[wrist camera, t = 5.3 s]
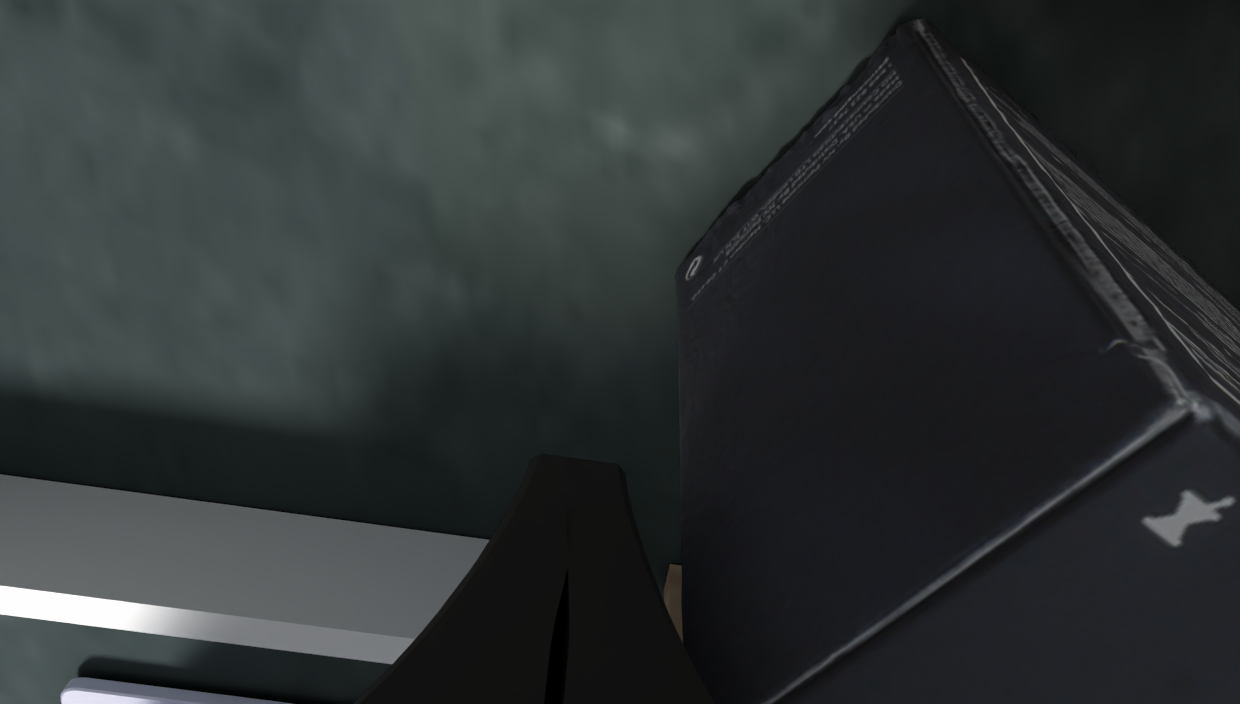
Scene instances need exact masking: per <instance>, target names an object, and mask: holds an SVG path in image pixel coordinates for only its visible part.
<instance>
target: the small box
mask: <svg viewBox="0 0 1240 704" xmlns="http://www.w3.org/2000/svg"><path fill="white" fill-rule="evenodd" d="M675 278H676V290H677V322H678V331H677V340H678V372H679V375H678V385H679V428H680V442H679V444H680V475H681V568H682V593H681V606H682V634H683V645H684V647H685V649H686V651H687V653H688V655H689V657H690V659H691V661H692V663H693V665H694V667H695V669H696V671H697V673H698V674H699V676H700V678H701V680H702V682H703V684H704V685H705V687H706V689H707V691H708V692H709V694H710V696H711V698H712V699H713V701H714V703H715V704H1240V309H1239V308H1238V307H1237V306H1236V305H1235V304H1233V303H1232V302H1231V301H1230V299H1229V298H1228V297H1226V296H1225V295H1224V294H1223V293H1221V292H1220V291H1219V290H1218V289H1217V288H1216V287H1215V286H1214V285H1213V284H1212V283H1211V282H1210V281H1209V280H1208V279H1207V278H1206V277H1205V276H1204V275H1203V274H1202V273H1201V272H1199V271H1198V270H1197V267H1196V265H1195V264H1194V263H1193V262H1192V261H1191V260H1188V259H1187V258H1185V257H1184V256H1182V255H1181V254H1180V253H1179V252H1178V251H1177V250H1176V249H1175V248H1174V247H1173V246H1172V245H1170V244H1169V243H1168V242H1166V241H1165V239H1164V238H1163V237H1162V236H1161V235H1160V234H1159V232H1157V231H1156V230H1155V229H1154V228H1152V227H1151V225H1150V224H1148V223H1147V222H1145V221H1144V220H1143V219H1142V218H1141V217H1140V216H1139V215H1138V214H1137V213H1136V212H1135V211H1134V210H1132V208H1131V207H1130V206H1128V205H1127V204H1126V203H1125V201H1124V200H1123V199H1122V198H1121V197H1120V196H1118V195H1117V194H1116V193H1115V192H1113V191H1112V190H1111V189H1110V188H1109V187H1108V186H1107V185H1106V184H1105V183H1104V181H1103V180H1102V179H1101V177H1100V176H1099V174H1098V172H1097V171H1096V170H1094V169H1093V168H1092V167H1090V166H1089V165H1087V164H1086V163H1085V162H1084V161H1082V159H1080V158H1079V157H1077V155H1076V153H1075V151H1073V150H1071V149H1069V148H1067V147H1066V146H1065V145H1064V144H1063V143H1061V142H1060V141H1059V139H1058V138H1057V136H1056V135H1055V134H1054V132H1053V131H1052V130H1051V128H1049V127H1048V126H1046V125H1045V124H1044V123H1041V122H1040V121H1039V120H1038V118H1037V117H1036V116H1035V115H1033V114H1031V113H1029V112H1028V111H1027V110H1026V109H1025V108H1024V107H1023V106H1022V105H1021V104H1020V103H1018V102H1017V101H1016V100H1015V99H1014V97H1013V96H1012V95H1011V94H1009V93H1008V92H1007V91H1005V90H1004V89H1003V88H1001V87H1000V86H999V85H998V84H997V83H995V82H994V81H993V80H992V79H991V78H990V77H989V76H988V75H987V74H986V73H985V72H984V71H982V70H981V69H980V68H979V67H978V66H977V65H975V64H974V63H973V62H972V61H971V60H970V59H968V58H967V57H966V56H965V55H964V54H963V53H962V52H961V51H960V50H958V49H957V48H956V47H955V46H954V45H953V44H952V43H951V42H950V41H948V40H947V39H946V38H945V37H944V36H943V35H942V34H941V33H940V31H939V30H938V29H937V28H936V27H935V26H934V25H933V24H932V23H931V22H930V21H929V20H928V19H924V18H923V19H919V20H911V21H909V22H907V23H903V24H900V25H899V26H898V28H897V29H896V34H894V35H893V36H891V37H889V38H887V39H886V40H884V41H883V43H882V44H881V46H880V47H879V48H878V49H877V51H876V52H875V54H874V55H873V56H872V57H871V58H870V60H869V62H868V65H867V67H866V68H865V69H864V70H863V72H862V73H861V74H860V75H859V76H858V77H857V78H856V79H855V80H854V81H853V82H852V83H850V84H847V85H845V86H844V87H843V88H842V89H841V91H840V94H839V97H838V98H837V99H836V100H835V101H834V102H833V103H832V104H831V105H830V106H829V107H828V108H827V109H826V110H825V111H824V113H823V114H822V115H821V116H820V117H819V118H818V119H817V120H816V121H815V122H814V124H813V125H812V126H811V127H810V128H808V129H807V130H805V131H804V132H803V134H802V135H801V137H800V138H799V140H798V141H797V142H796V143H795V144H794V145H793V146H792V147H791V148H790V149H789V150H788V151H787V152H786V153H785V154H784V155H783V156H782V158H780V159H779V160H778V161H777V162H776V163H774V164H773V165H771V166H770V167H769V168H768V169H767V171H766V173H765V175H764V176H763V177H762V178H761V179H760V180H759V181H758V183H757V184H756V185H755V186H753V187H752V188H751V189H750V190H749V191H748V193H747V194H746V195H745V196H744V197H743V198H742V199H739V200H737V201H735V202H733V203H732V204H731V205H730V206H729V207H728V208H727V210H726V212H725V213H724V214H723V215H722V216H721V217H720V218H719V219H718V220H717V222H716V223H715V225H714V226H713V227H712V228H711V229H710V230H709V231H708V232H707V234H706V235H705V237H704V238H703V239H702V240H701V242H700V243H699V244H698V246H697V247H696V249H695V250H694V251H693V252H692V253H691V254H690V255H689V257H688V258H687V259H686V260H685V261H684V262H683V263H682V264H681V265H680V266H679V268H678V269H677V271H676V274H675Z"/></svg>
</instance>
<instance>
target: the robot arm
mask: <svg viewBox="0 0 1240 704" xmlns="http://www.w3.org/2000/svg"><path fill="white" fill-rule="evenodd" d="M61 703H62V704H294V703H286V702H278V701H270V700H262V699H254V698H246V697H238V696H230V695H222V694H214V693H206V692H198V691H190V690H182V689H174V688H166V687H159V686H151V685H143V684H135V683H127V682H119V681H111V680H103V679H95V678H87V677H78V678H74V679H71V680H70V681H69V682H68V683H67V685H66V686H65V688H64V689H63V691H62V693H61ZM353 704H715V703H714V701H713V699H712V698H711V696H710V694H709V692H708V691H707V689H706V687H705V685H704V684H703V682H702V680H701V678H700V676H699V674H698V673H697V671H696V669H695V667H694V665H693V663H692V661H691V659H690V657H689V655H688V653H687V651H686V649H685V647H684V645H683V643H682V641H681V638H680V636H679V634H678V632H677V630H676V628H675V626H674V623H673V621H672V619H671V617H670V615H669V612H668V610H667V608H666V605H665V603H664V601H663V598H662V596H661V593H660V591H659V588H658V585H657V583H656V580H655V578H654V575H653V573H652V570H651V567H650V565H649V562H648V560H647V557H646V554H645V551H644V548H643V545H642V542H641V539H640V536H639V532H638V529H637V526H636V522H635V519H634V515H633V512H632V508H631V504H630V499H629V495H628V490H627V484H626V477H625V472H624V471H623V470H622V469H621V467H620V466H619V465H618V464H613V463H606V462H598V461H591V460H584V459H577V458H569V457H562V456H555V455H547V454H539V455H537V456H535V457H534V458H532V459H530V462H529V465H528V468H527V471H526V474H525V476H524V479H523V481H522V483H521V486H520V488H519V490H518V492H517V494H516V496H515V498H514V500H513V502H512V504H511V505H510V507H509V509H508V511H507V512H506V514H505V516H504V518H503V519H502V521H501V523H500V525H499V526H498V528H497V529H496V531H495V532H494V534H493V536H492V537H491V539H490V540H489V542H488V543H487V545H486V546H485V548H484V549H483V551H482V553H481V554H480V556H479V557H478V559H477V560H476V562H475V563H474V565H473V566H472V567H471V569H470V570H469V572H468V573H467V574H466V576H465V577H464V578H463V580H462V581H461V582H460V584H459V585H458V586H457V588H456V589H455V590H454V592H453V593H452V594H451V595H450V597H449V598H448V599H447V601H446V602H445V603H444V605H443V606H442V607H441V609H440V610H439V611H438V612H437V614H436V615H435V616H434V617H433V619H432V620H431V621H430V622H429V623H428V625H427V626H426V627H425V628H424V629H423V631H422V632H421V633H420V634H419V635H418V636H417V638H416V639H415V640H414V641H413V642H412V643H411V644H410V645H409V647H408V648H407V649H406V650H405V651H404V652H403V653H402V654H401V655H400V656H399V657H398V659H397V660H396V661H395V662H394V663H393V664H392V665H391V666H390V667H389V668H388V669H387V670H386V671H385V672H384V673H383V674H382V675H381V676H380V677H379V678H378V679H377V680H376V681H375V682H374V683H373V684H372V685H371V686H370V687H369V688H368V689H367V690H366V691H365V692H364V693H363V694H362V695H361V696H360V697H359V698H358V699H357V700H356V701H355V702H354V703H353Z"/></svg>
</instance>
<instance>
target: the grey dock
mask: <svg viewBox="0 0 1240 704" xmlns="http://www.w3.org/2000/svg"><path fill="white" fill-rule="evenodd" d="M488 542H489V540H487V539H480V538H472V537H465V536H458V535H450V534H443V533H435V532H428V531H420V530H413V529H405V528H398V527H390V526H383V525H375V524H368V523H360V522H353V521H346V520H338V519H331V518H323V517H316V516H308V515H301V514H293V513H286V512H278V511H271V510H263V509H256V508H248V507H241V506H234V505H226V504H219V503H211V502H204V501H196V500H189V499H181V498H174V497H166V496H159V495H151V494H144V493H136V492H129V491H122V490H114V489H107V488H99V487H92V486H84V485H77V484H69V483H62V482H54V481H47V480H39V479H32V478H24V477H17V476H10V475H2V474H0V614H3V615H11V616H19V617H27V618H34V619H42V620H50V621H58V622H66V623H73V624H81V625H89V626H97V627H105V628H113V629H120V630H128V631H136V632H144V633H152V634H159V635H167V636H175V637H183V638H191V639H199V640H206V641H214V642H222V643H230V644H238V645H245V646H253V647H261V648H269V649H277V650H285V651H292V652H300V653H308V654H316V655H324V656H331V657H339V658H347V659H355V660H363V661H370V662H378V663H386V664H393V663H394V662H395V661H396V660H397V659H398V657H399V656H400V655H401V654H402V653H403V652H404V651H405V650H406V649H407V648H408V647H409V645H410V644H411V643H412V642H413V641H414V640H415V639H416V638H417V636H418V635H419V634H420V633H421V632H422V631H423V629H424V628H425V627H426V626H427V625H428V623H429V622H430V621H431V620H432V619H433V617H434V616H435V615H436V614H437V612H438V611H439V610H440V609H441V607H442V606H443V605H444V603H445V602H446V601H447V599H448V598H449V597H450V595H451V594H452V593H453V592H454V590H455V589H456V588H457V586H458V585H459V584H460V582H461V581H462V580H463V578H464V577H465V576H466V574H467V573H468V572H469V570H470V569H471V567H472V566H473V565H474V563H475V562H476V560H477V559H478V557H479V556H480V554H481V553H482V551H483V549H484V548H485V546H486V545H487V543H488Z"/></svg>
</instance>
